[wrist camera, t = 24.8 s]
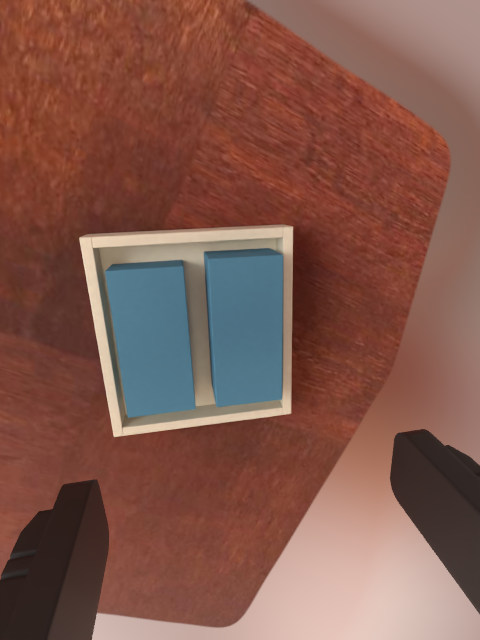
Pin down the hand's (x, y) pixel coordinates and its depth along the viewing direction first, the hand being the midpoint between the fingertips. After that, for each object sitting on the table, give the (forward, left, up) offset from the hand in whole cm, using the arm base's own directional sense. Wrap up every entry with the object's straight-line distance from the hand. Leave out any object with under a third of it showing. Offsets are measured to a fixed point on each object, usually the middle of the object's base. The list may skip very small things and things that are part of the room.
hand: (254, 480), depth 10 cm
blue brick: (+4, +3, -22) cm, 22 cm away
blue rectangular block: (-3, +3, -22) cm, 22 cm away
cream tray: (0, +3, -22) cm, 23 cm away
